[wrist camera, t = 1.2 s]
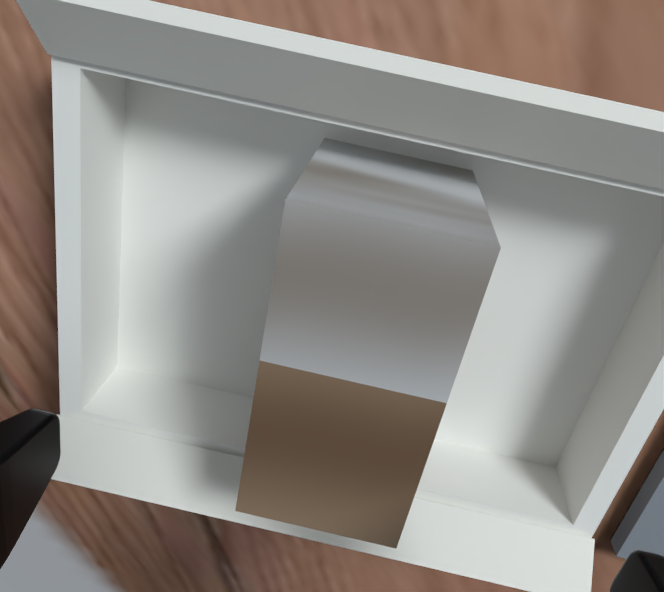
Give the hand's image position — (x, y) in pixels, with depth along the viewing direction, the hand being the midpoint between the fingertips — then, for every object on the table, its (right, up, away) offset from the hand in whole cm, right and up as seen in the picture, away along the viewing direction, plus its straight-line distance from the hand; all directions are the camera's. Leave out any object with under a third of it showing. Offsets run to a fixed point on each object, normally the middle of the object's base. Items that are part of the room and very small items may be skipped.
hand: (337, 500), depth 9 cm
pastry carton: (+1, +4, +7) cm, 8 cm away
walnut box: (+1, +3, +7) cm, 8 cm away
